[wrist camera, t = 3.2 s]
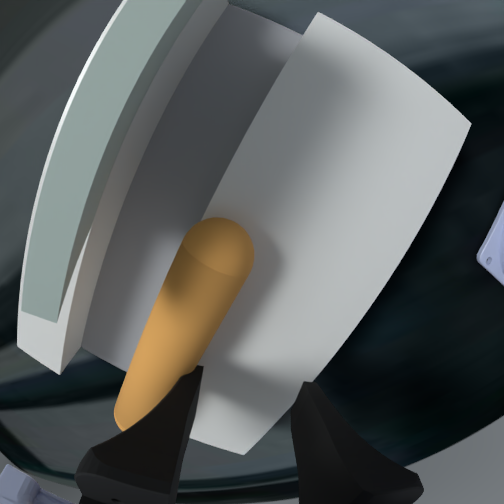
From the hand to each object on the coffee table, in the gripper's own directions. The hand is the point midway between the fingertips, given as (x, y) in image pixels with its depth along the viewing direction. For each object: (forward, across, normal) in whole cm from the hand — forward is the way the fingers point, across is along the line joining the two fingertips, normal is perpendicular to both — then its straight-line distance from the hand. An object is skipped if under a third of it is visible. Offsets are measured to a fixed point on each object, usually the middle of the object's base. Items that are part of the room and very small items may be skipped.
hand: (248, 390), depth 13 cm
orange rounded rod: (0, +4, -1) cm, 4 cm away
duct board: (+4, +3, -6) cm, 8 cm away
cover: (-2, +5, -10) cm, 12 cm away
